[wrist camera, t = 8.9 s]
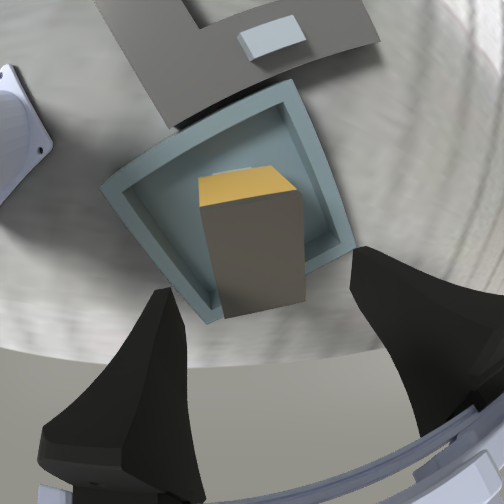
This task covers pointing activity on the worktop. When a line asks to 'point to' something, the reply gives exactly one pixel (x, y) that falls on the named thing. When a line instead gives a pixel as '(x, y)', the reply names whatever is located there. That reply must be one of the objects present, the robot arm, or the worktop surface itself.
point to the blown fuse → (254, 239)
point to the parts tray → (220, 160)
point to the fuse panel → (227, 46)
